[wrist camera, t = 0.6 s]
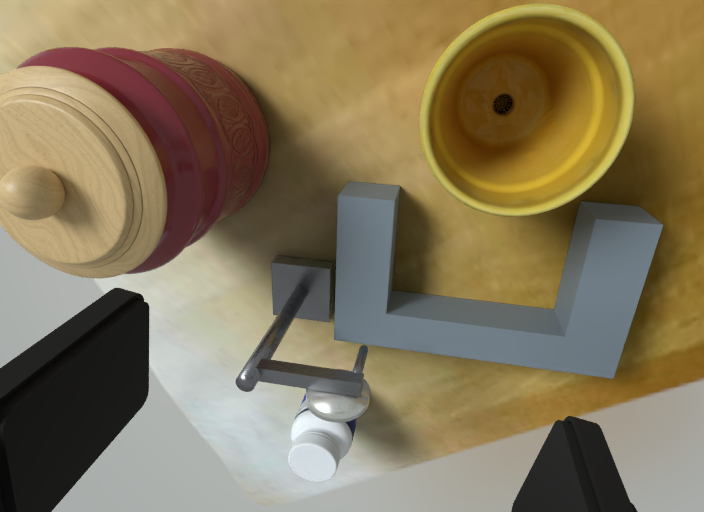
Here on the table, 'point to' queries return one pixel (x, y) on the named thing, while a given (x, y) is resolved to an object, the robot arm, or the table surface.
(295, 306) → the stand
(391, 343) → the bar
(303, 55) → the table surface
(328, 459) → the pill bottle
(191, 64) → the canister
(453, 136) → the plant pot
